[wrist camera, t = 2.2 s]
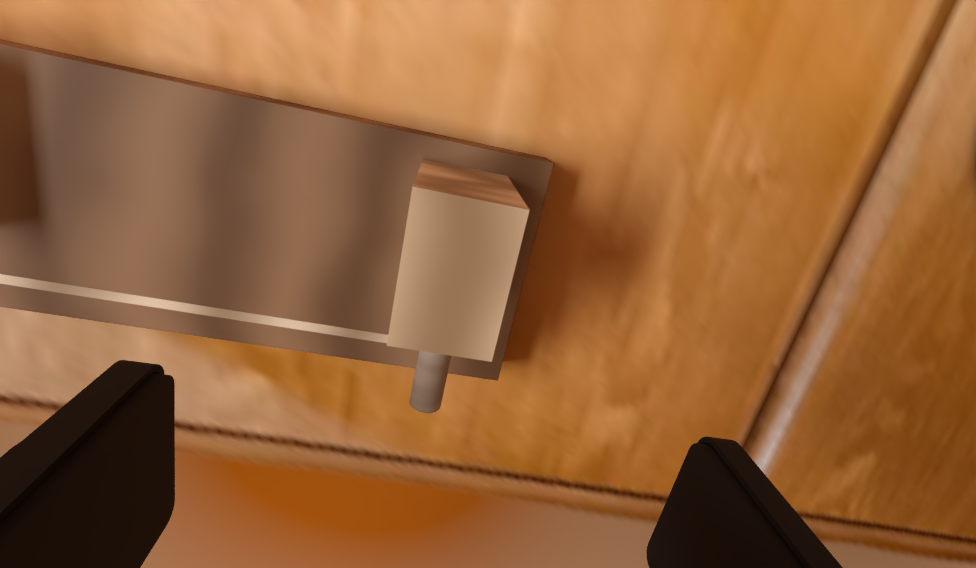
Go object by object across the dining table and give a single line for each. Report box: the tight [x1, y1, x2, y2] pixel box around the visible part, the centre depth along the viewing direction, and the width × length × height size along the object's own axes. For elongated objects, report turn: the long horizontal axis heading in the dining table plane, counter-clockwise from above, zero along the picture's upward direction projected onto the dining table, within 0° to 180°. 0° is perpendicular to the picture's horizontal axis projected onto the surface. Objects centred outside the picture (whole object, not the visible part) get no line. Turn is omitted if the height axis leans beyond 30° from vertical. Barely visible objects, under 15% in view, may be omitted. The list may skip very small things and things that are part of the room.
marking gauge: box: [387, 158, 529, 413], centre depth 22 cm, size 4×10×7 cm, turn 168°
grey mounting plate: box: [0, 40, 554, 381], centre depth 23 cm, size 28×12×5 cm, turn 78°
